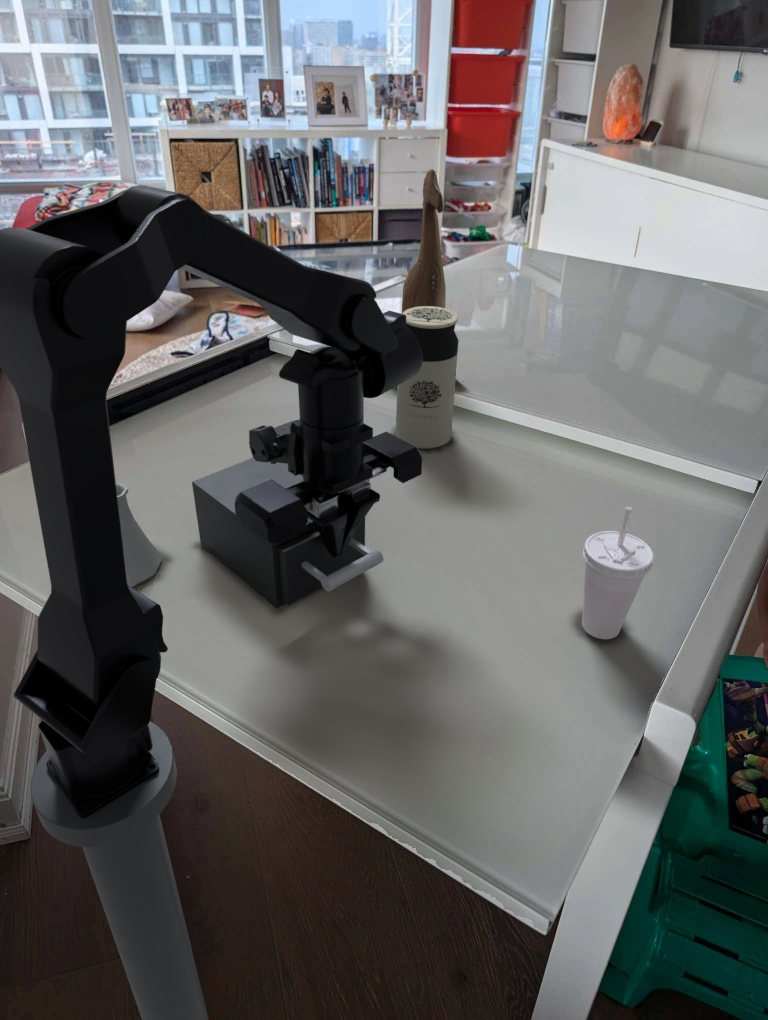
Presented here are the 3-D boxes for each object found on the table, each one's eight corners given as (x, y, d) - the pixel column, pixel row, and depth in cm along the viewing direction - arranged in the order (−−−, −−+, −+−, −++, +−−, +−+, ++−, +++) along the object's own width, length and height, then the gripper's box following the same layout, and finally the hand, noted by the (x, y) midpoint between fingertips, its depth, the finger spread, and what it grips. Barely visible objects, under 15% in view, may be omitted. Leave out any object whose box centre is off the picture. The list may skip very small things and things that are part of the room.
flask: (77, 579, 81) (56, 500, 75) (121, 542, 87) (104, 466, 81) (133, 596, 79) (116, 517, 73) (174, 557, 84) (161, 481, 79)
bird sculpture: (404, 397, 120) (413, 180, 102) (375, 369, 129) (378, 165, 111) (466, 386, 124) (485, 175, 106) (433, 360, 133) (445, 161, 115)
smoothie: (635, 614, 78) (666, 500, 70) (631, 655, 73) (664, 538, 65) (572, 599, 80) (596, 487, 72) (564, 639, 75) (588, 523, 67)
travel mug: (405, 420, 113) (410, 302, 103) (457, 429, 111) (467, 309, 101) (388, 444, 107) (391, 320, 97) (442, 454, 105) (451, 329, 95)
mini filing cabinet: (361, 563, 84) (362, 498, 79) (276, 609, 78) (271, 541, 73) (283, 508, 93) (279, 447, 88) (200, 545, 86) (191, 481, 82)
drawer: (394, 584, 80) (396, 532, 76) (317, 629, 74) (315, 575, 70) (290, 512, 91) (287, 463, 87) (215, 546, 85) (208, 495, 81)
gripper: (352, 361, 78) (353, 490, 87) (192, 415, 67) (212, 555, 76) (429, 397, 71) (422, 532, 80) (265, 462, 60) (277, 610, 69)
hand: (335, 554), depth 76 cm, fingers closed, pressing on drawer
